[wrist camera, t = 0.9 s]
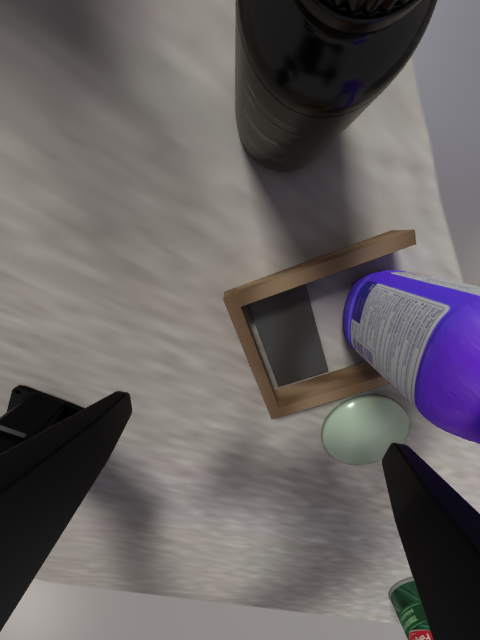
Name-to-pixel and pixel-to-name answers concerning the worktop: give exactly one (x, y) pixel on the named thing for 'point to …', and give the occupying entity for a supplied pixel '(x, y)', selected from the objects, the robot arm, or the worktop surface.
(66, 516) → the robot arm
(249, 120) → the supplement bottle
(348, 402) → the coaster
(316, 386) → the wooden u-shaped frame
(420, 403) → the bottle
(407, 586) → the canned tomato
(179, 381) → the worktop surface
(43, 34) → the worktop surface
